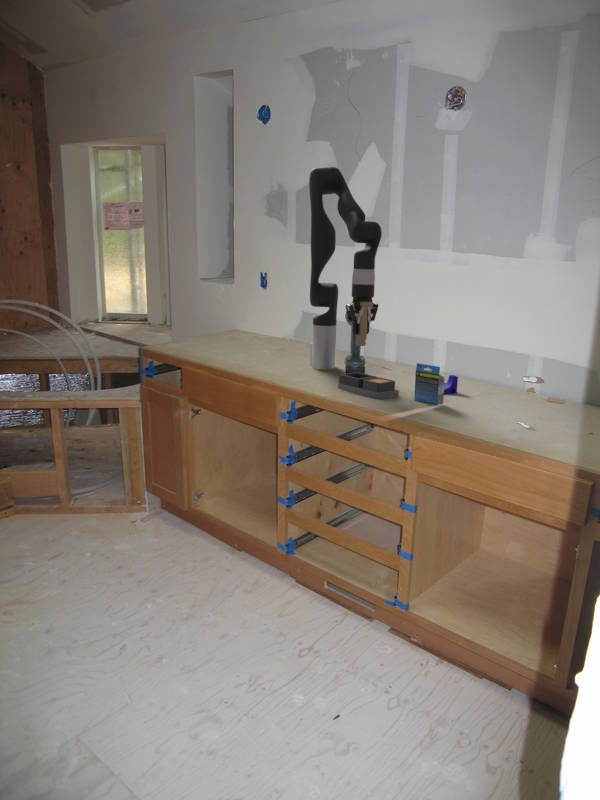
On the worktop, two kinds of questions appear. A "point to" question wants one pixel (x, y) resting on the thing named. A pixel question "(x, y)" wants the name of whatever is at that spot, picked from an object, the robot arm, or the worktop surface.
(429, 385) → the label tape box
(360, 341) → the handle
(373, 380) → the button
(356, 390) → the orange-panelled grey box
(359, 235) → the robot arm
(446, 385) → the blue curved piece
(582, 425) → the worktop surface
